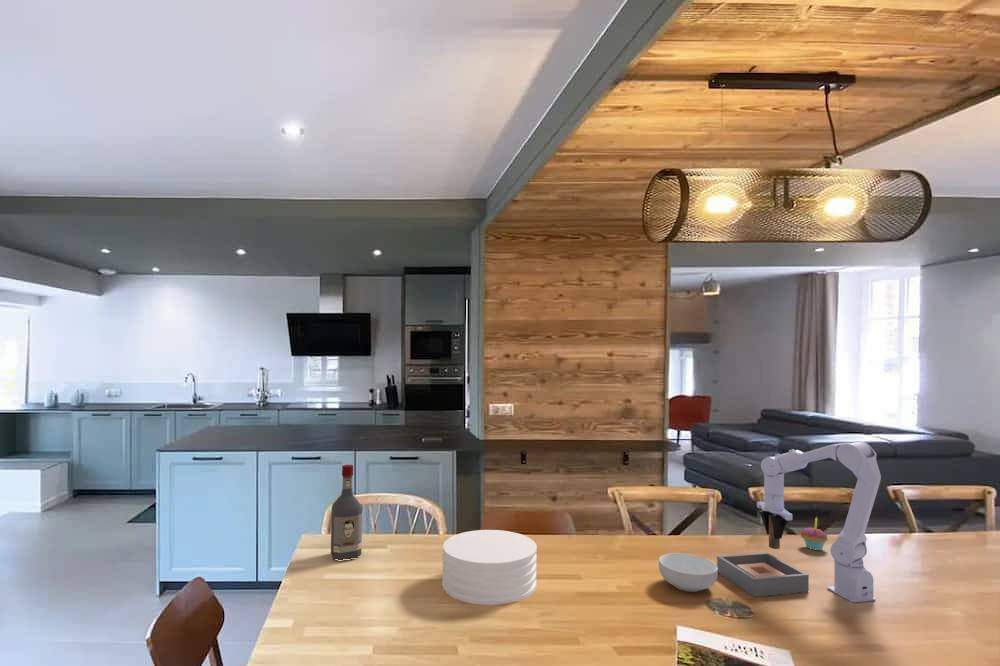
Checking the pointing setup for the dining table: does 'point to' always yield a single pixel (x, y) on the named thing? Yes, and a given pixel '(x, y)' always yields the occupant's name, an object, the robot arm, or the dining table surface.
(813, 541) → the cupcake
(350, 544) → the liquor
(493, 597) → the plate stack
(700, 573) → the cereal bowl
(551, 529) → the dining table surface
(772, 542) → the peg
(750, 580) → the box
